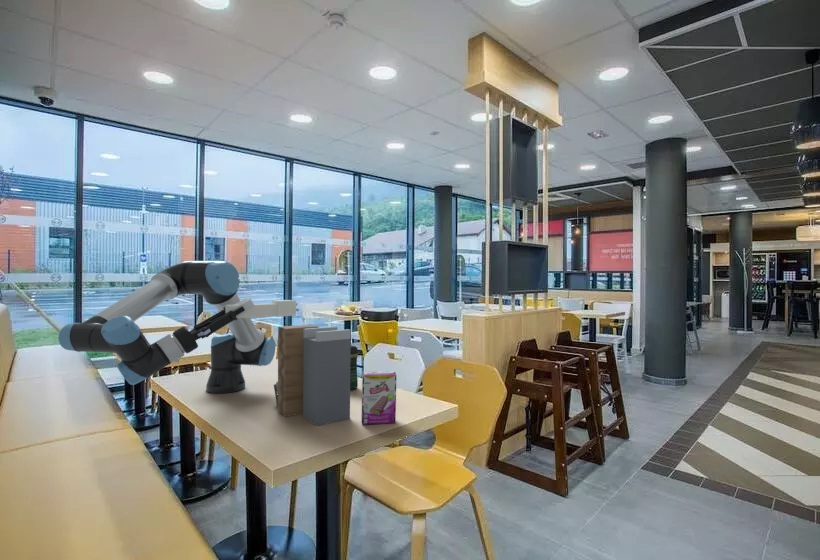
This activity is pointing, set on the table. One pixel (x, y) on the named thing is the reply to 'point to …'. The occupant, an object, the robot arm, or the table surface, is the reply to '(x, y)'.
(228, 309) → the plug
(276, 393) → the electrical switch
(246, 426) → the table surface
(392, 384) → the candy bar box
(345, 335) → the socket block
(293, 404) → the tall wooden block stack
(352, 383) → the coffee jar
